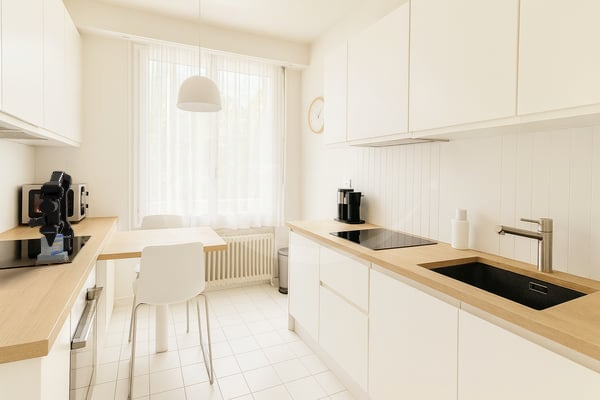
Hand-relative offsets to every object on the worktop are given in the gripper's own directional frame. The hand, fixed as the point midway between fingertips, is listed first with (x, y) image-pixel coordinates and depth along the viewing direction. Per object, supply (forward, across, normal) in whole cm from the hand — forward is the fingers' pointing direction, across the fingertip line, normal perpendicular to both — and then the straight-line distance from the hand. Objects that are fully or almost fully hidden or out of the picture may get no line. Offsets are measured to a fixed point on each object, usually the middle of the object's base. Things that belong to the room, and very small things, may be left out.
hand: (52, 244), depth 150 cm
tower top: (+7, 0, 0) cm, 7 cm away
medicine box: (+4, 0, 0) cm, 5 cm away
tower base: (+9, 0, 0) cm, 9 cm away
